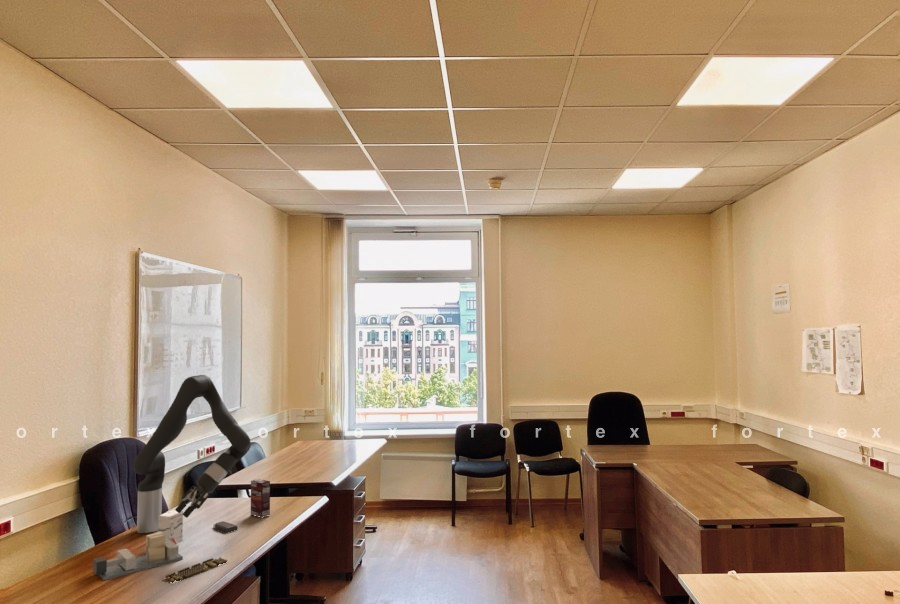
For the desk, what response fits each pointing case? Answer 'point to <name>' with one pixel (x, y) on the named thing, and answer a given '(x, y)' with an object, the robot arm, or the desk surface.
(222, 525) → the usb drive
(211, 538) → the desk surface
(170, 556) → the vise base
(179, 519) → the ink box
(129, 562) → the free jaw
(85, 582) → the desk surface
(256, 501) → the supplement box
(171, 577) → the keyboard
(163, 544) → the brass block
